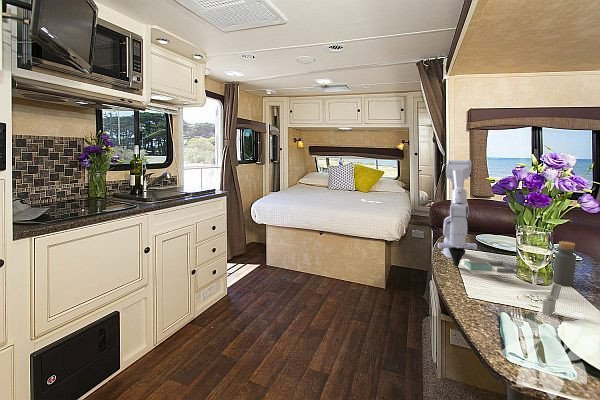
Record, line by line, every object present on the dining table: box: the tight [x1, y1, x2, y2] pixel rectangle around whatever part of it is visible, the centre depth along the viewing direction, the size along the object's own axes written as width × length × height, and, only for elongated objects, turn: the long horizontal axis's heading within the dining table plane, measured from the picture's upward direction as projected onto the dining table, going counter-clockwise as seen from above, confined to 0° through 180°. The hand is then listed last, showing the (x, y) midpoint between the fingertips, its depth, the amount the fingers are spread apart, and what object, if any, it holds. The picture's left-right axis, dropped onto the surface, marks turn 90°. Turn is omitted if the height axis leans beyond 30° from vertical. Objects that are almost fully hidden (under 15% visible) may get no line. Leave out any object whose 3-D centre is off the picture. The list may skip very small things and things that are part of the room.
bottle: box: [552, 240, 577, 287], centre depth 118 cm, size 6×6×15 cm
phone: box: [466, 261, 492, 271], centre depth 133 cm, size 8×5×2 cm, turn 83°
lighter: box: [541, 283, 562, 316], centre depth 97 cm, size 7×2×8 cm, turn 122°
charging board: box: [459, 258, 518, 276], centre depth 133 cm, size 16×14×2 cm
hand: (455, 265), depth 134 cm, fingers closed
